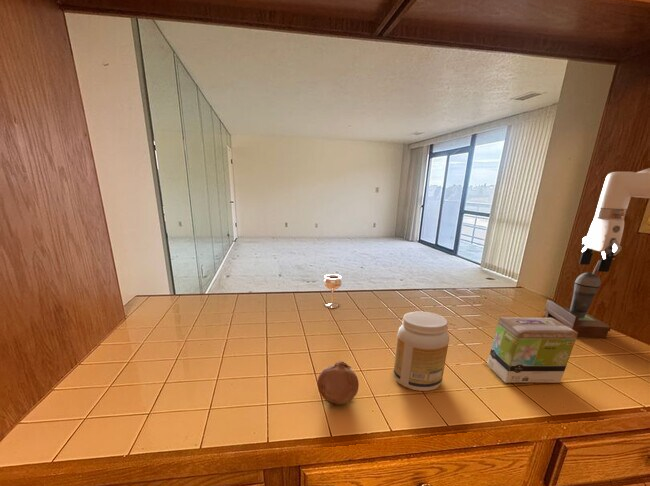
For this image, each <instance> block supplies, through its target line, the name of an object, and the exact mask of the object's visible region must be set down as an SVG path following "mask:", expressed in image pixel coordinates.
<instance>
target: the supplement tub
mask: <svg viewBox="0 0 650 486" xmlns="http://www.w3.org/2000/svg"><path fill="white" fill-rule="evenodd" d="M401 323H402V324H401V325H400V326H399V328H398V330H397V335H396V336H397V337H396V344H395V345H396V347H395V352H394V353H395V355H394V364H393V371H392V372H393V377H394V379H395V380H396V382H397V383H398V384H400V385H401V386H403V387H405V388H407V389H409V390H413V391H417V392H428V391H429V392H430V391H432V390H435V389H438V387H439V386H440V385H441V384H442V382H443V376H444V373H445V366H446V362H447V361H446V360H447V354H448V348H449V343H450V335H449V332H448V331H447V330H448V319H447V318H445V317H444V316H442V315H440V314H438V313H434V312H430V311H410V312H407V313H405V314H404V315H403V317H402V320H401Z"/></svg>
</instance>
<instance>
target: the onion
mask: <svg viewBox="0 0 650 486" xmlns="http://www.w3.org/2000/svg"><path fill="white" fill-rule="evenodd" d="M316 381H317V382H316V383H317V390H318V392H319V393H320V395H321V397H322V398H323V399H324V401H325V402H326V403H328V404H331V405H332V406H341V405H342V406H344V405H345V404H347V403H351V402H352V401H353V400H354V398H355V397H356V395H357V394H358V391H359V385H360V384H359V383H360V382H359V378H358V376H357V374H356V372H355V371H354V370H353V369H352V367H351V366H350V365H349V364H347V362H344V361H339V362H335V363H334V364H331V365H328V366H327V367H324V368H323V369H322V370H321V372H319V374H318V377H317V380H316Z"/></svg>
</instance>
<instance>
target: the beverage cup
mask: <svg viewBox="0 0 650 486" xmlns="http://www.w3.org/2000/svg"><path fill="white" fill-rule="evenodd" d="M600 260H601V259H600ZM600 260H598V261H597V263H596V265H595V266H594V269H593V271H592V272H583V273H581V274H580V275H578V276H577V277H576V279H575V280H574V285H573V293H572V298H571V302H570V307H569V308H570V312H571V313H573V314H575V315H576V316H578V317H579V318H584V317H585V315H586V313H588V311H589V309H590V307H591V304H592V302H593V300H594V298H595V296H596V294H597V292H598V291H599V289H600V287H601V278H600V276H599V275H597V273H596V271H597V269H598V266H599V263H600Z"/></svg>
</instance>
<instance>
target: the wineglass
mask: <svg viewBox="0 0 650 486" xmlns="http://www.w3.org/2000/svg"><path fill="white" fill-rule="evenodd" d="M324 278H325V279H324V280H323V282H324V286H325V287H326V289H328V290H330V291H331V303H327V304H325V306H326V307H327V308H329V309H336V308H338V307H339V304H336V303H334V293H335V290H338V289H339V288H340V287H341V285H342V276H341V275H339V274H335V273H334V274H331V273H330V274H326V275H324Z"/></svg>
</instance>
